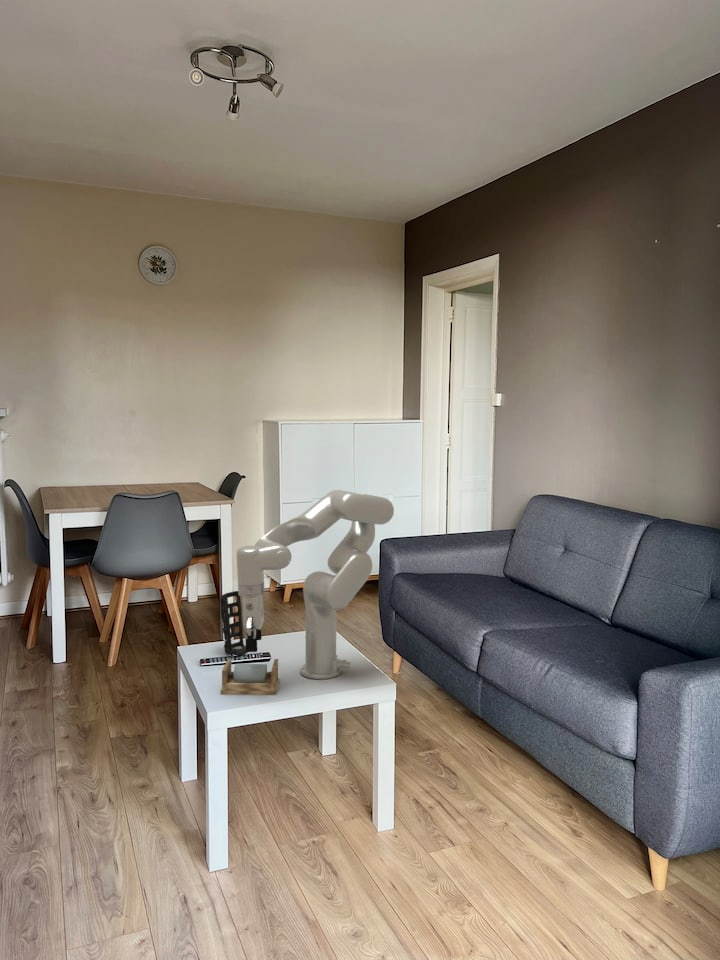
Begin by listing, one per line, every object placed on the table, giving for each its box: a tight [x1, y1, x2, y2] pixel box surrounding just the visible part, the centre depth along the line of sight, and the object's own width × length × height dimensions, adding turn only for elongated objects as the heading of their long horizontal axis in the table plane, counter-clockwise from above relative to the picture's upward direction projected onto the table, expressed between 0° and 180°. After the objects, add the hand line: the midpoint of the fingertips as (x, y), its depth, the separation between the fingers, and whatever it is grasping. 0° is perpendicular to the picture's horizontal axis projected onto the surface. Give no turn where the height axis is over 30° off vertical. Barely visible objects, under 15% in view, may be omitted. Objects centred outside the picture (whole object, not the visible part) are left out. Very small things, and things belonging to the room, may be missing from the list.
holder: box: [219, 590, 247, 657], centre depth 242 cm, size 11×8×20 cm
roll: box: [233, 663, 268, 683], centre depth 212 cm, size 10×6×6 cm, turn 91°
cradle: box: [219, 658, 281, 696], centre depth 212 cm, size 16×10×7 cm, turn 91°
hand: (254, 645), depth 212 cm, fingers open, 9 cm apart
